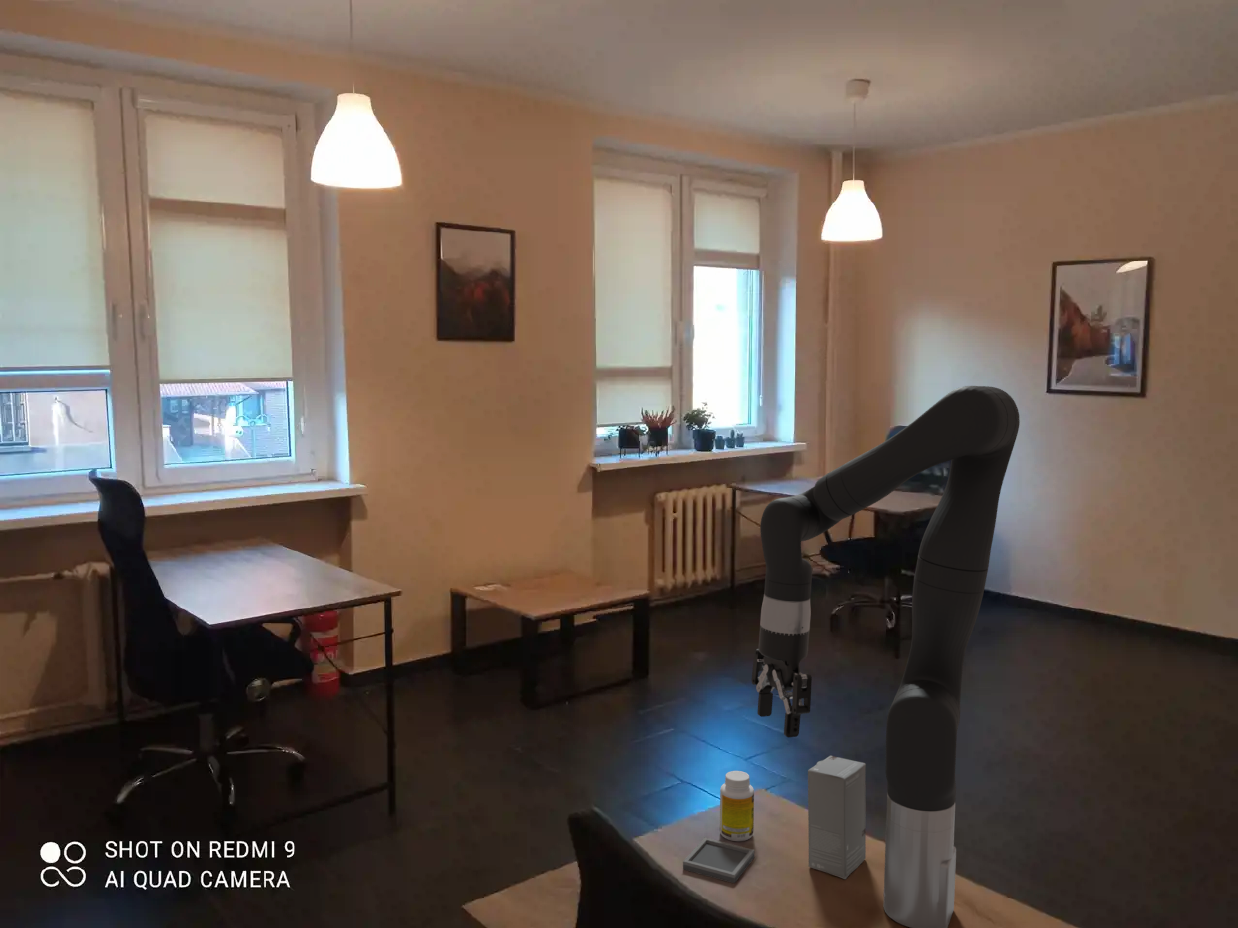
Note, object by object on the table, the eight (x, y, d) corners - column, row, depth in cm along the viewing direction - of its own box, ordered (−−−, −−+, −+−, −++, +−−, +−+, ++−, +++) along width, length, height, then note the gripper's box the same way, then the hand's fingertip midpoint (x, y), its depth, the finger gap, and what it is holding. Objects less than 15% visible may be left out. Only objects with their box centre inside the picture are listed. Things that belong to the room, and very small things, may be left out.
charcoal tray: (754, 857, 154) (754, 849, 154) (734, 883, 146) (734, 874, 146) (704, 844, 158) (704, 837, 158) (683, 869, 150) (683, 861, 150)
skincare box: (845, 881, 147) (848, 781, 145) (802, 866, 151) (805, 768, 149) (868, 858, 154) (871, 762, 152) (826, 844, 158) (828, 751, 156)
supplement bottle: (757, 841, 159) (758, 781, 158) (723, 843, 158) (724, 783, 157) (748, 825, 164) (749, 767, 163) (716, 827, 164) (717, 769, 163)
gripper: (831, 637, 144) (822, 741, 146) (783, 611, 158) (776, 707, 159) (786, 639, 142) (778, 746, 144) (742, 613, 155) (735, 710, 157)
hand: (777, 725), depth 152 cm, fingers open, 8 cm apart
